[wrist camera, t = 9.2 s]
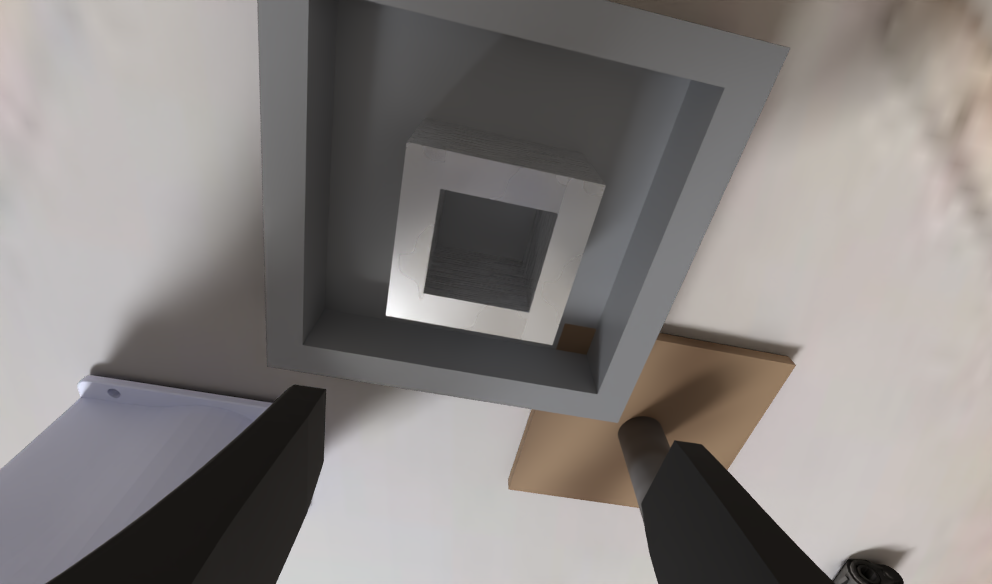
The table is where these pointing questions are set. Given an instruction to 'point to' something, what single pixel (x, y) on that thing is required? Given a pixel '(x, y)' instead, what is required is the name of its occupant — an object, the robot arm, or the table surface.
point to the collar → (482, 277)
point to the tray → (480, 221)
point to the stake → (649, 420)
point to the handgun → (867, 574)
